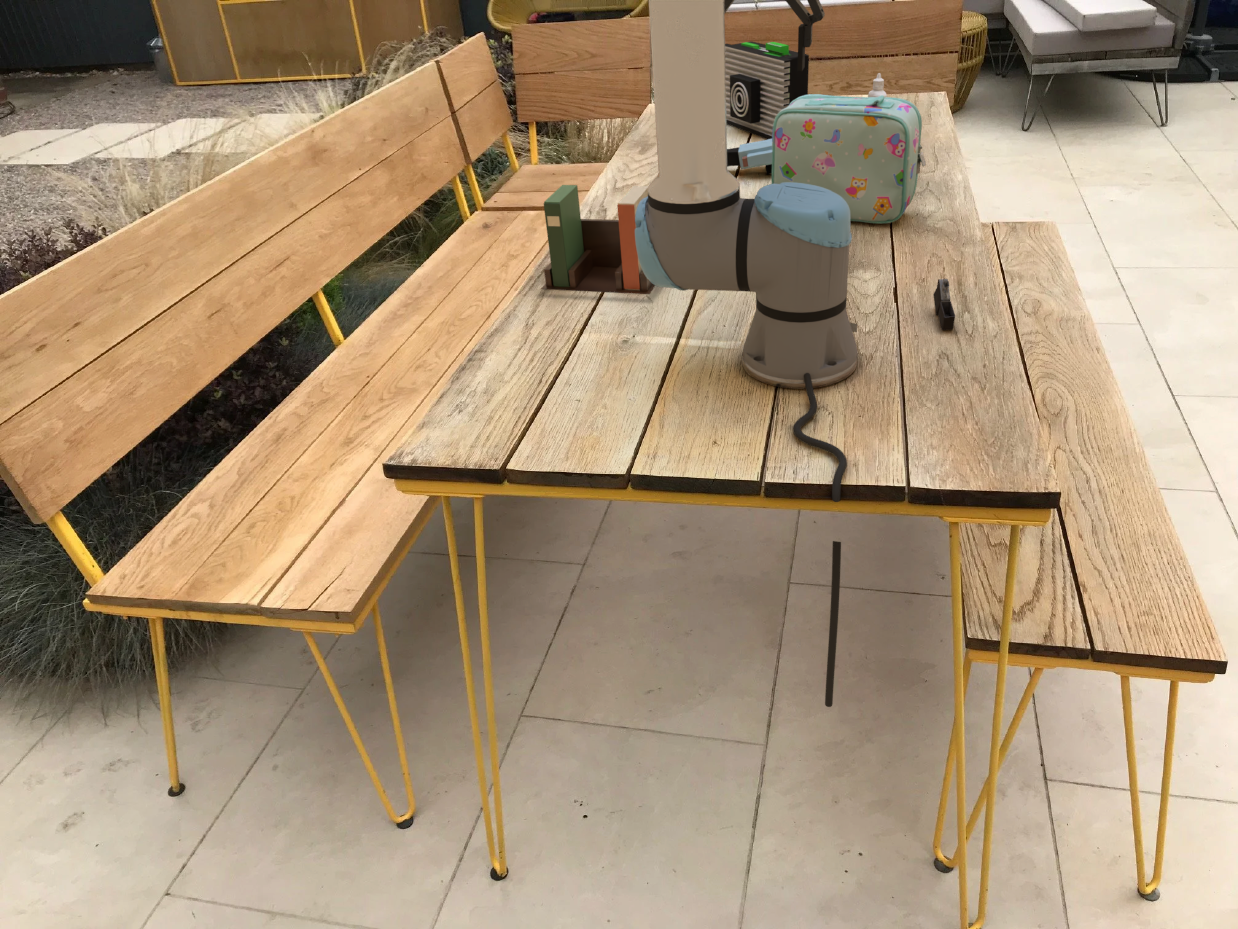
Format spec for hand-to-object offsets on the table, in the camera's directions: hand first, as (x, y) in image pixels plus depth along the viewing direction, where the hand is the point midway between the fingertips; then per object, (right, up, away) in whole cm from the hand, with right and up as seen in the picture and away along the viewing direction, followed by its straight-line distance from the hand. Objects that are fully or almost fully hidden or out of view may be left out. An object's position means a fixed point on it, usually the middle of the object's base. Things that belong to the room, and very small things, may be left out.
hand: (759, 70), depth 156 cm
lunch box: (+19, -18, +20) cm, 33 cm away
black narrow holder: (+24, -44, -19) cm, 54 cm away
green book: (-31, -33, +2) cm, 46 cm away
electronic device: (+11, +16, +74) cm, 76 cm away
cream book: (-20, -35, -1) cm, 40 cm away
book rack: (-25, -35, +1) cm, 43 cm away
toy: (+5, -3, +46) cm, 47 cm away
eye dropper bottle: (+37, +15, +68) cm, 79 cm away
